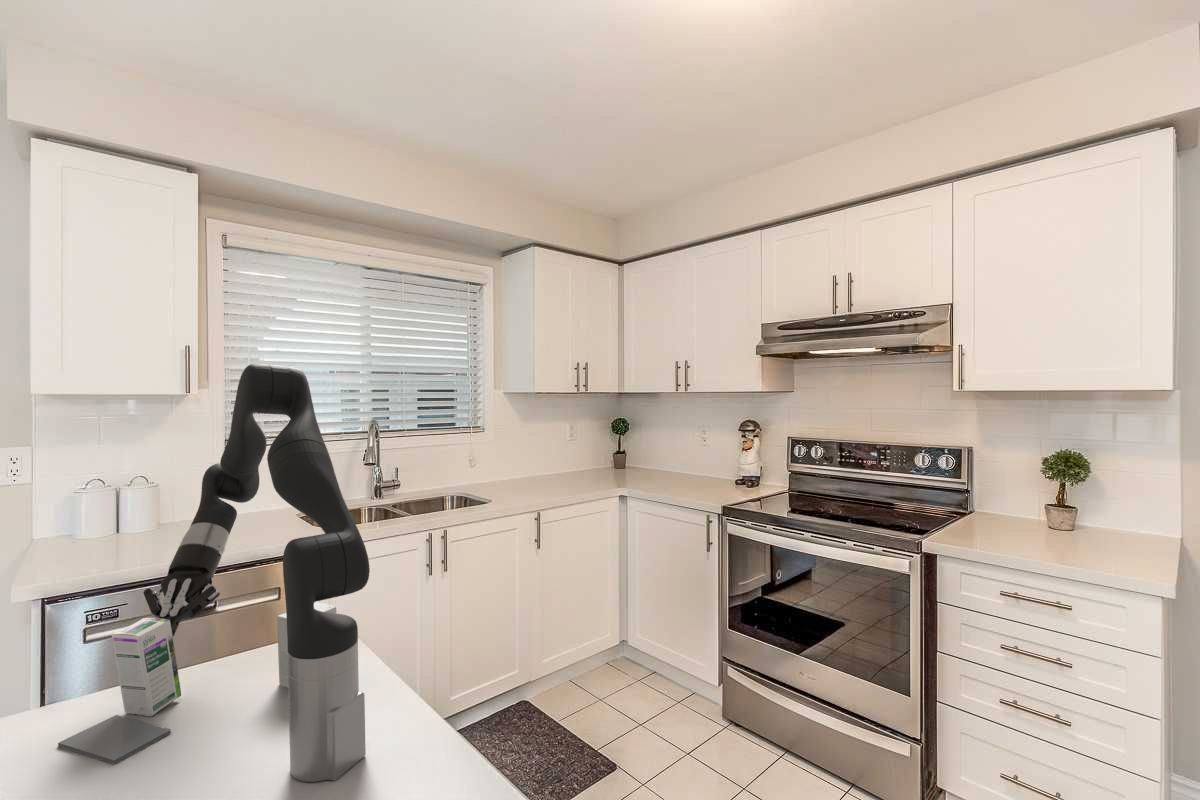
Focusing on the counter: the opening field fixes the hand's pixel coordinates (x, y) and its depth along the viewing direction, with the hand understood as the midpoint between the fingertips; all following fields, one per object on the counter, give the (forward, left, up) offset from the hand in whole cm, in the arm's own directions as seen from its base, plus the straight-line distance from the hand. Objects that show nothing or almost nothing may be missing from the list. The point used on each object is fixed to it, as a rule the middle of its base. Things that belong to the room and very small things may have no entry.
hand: (161, 640), depth 103 cm
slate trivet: (-6, +11, -10) cm, 16 cm away
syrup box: (-1, +2, -10) cm, 11 cm away
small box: (-19, -14, -11) cm, 26 cm away
